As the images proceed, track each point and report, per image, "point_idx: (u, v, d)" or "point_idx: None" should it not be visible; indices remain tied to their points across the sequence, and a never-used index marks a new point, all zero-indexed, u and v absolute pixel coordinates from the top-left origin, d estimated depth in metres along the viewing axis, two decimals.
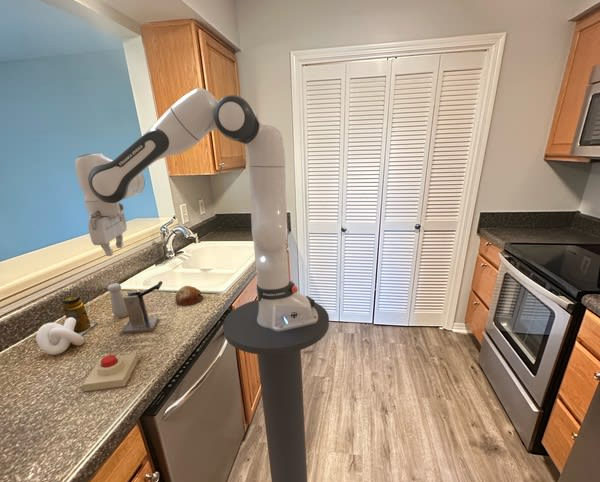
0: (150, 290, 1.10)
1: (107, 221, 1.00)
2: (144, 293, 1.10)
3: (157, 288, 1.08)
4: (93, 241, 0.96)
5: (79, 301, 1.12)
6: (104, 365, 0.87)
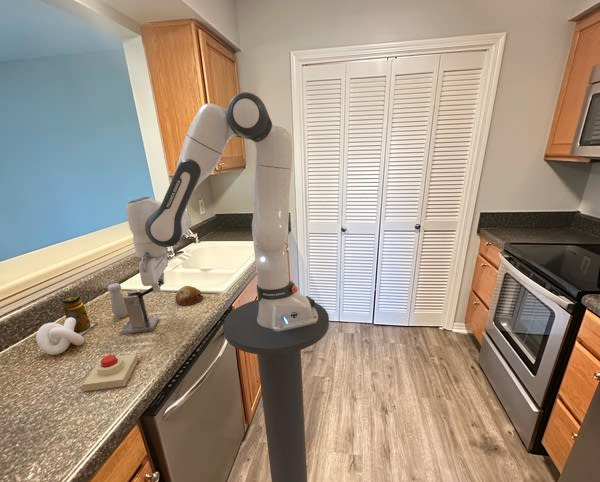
0: (150, 290, 1.10)
1: (155, 261, 1.03)
2: (144, 293, 1.10)
3: None
4: (143, 282, 0.99)
5: (79, 301, 1.12)
6: (104, 365, 0.87)
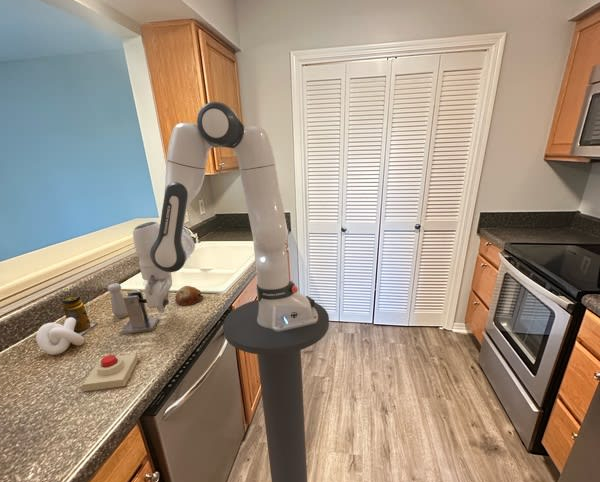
0: None
1: (160, 284, 1.06)
2: None
3: None
4: (149, 305, 1.02)
5: (79, 301, 1.12)
6: (104, 365, 0.87)
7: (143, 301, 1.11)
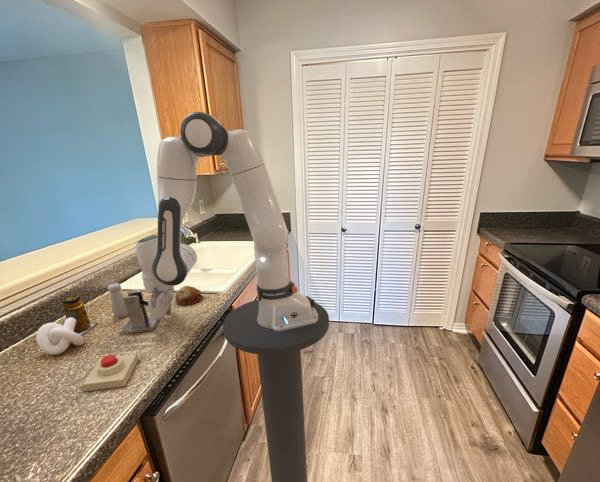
0: None
1: (163, 296, 1.08)
2: (146, 304, 1.12)
3: None
4: (152, 317, 1.04)
5: (79, 301, 1.12)
6: (104, 365, 0.87)
7: (143, 303, 1.11)
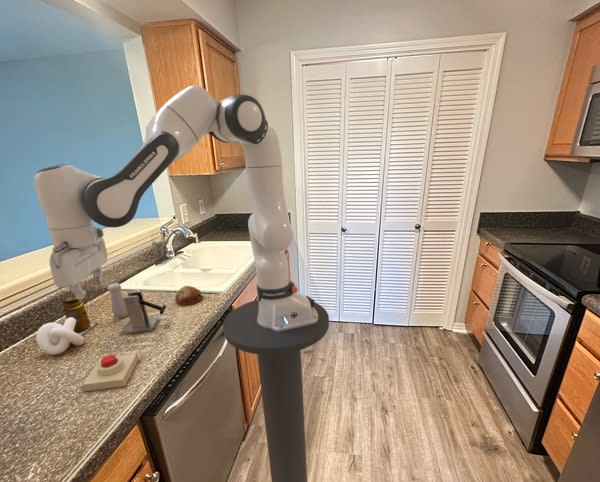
0: (153, 306, 1.12)
1: (78, 254, 0.75)
2: (146, 304, 1.12)
3: (161, 313, 1.12)
4: (56, 283, 0.71)
5: (79, 301, 1.12)
6: (104, 365, 0.87)
7: (143, 303, 1.11)
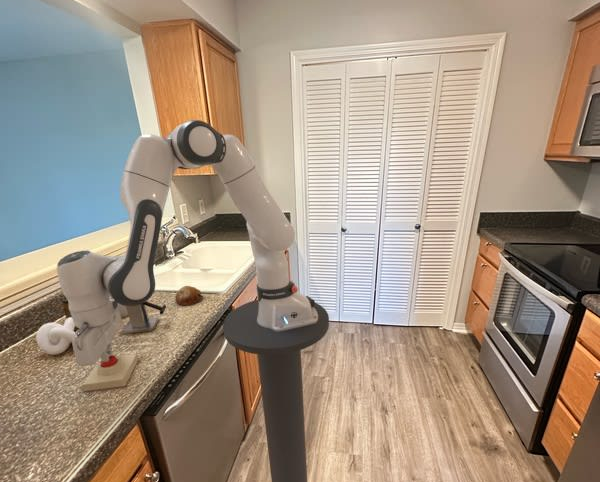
0: (153, 306, 1.12)
1: (97, 332, 0.81)
2: (146, 304, 1.12)
3: (161, 313, 1.12)
4: (79, 363, 0.77)
5: None
6: (104, 365, 0.87)
7: (143, 303, 1.11)
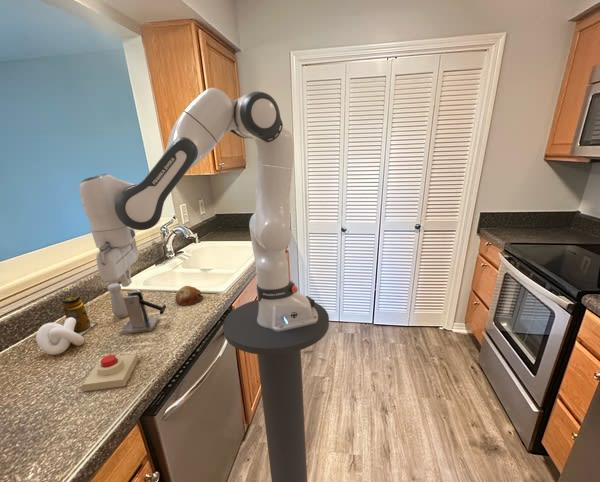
0: (153, 306, 1.12)
1: (118, 253, 0.85)
2: (146, 304, 1.12)
3: (161, 313, 1.12)
4: (103, 278, 0.81)
5: (79, 301, 1.12)
6: (104, 365, 0.87)
7: (143, 303, 1.11)
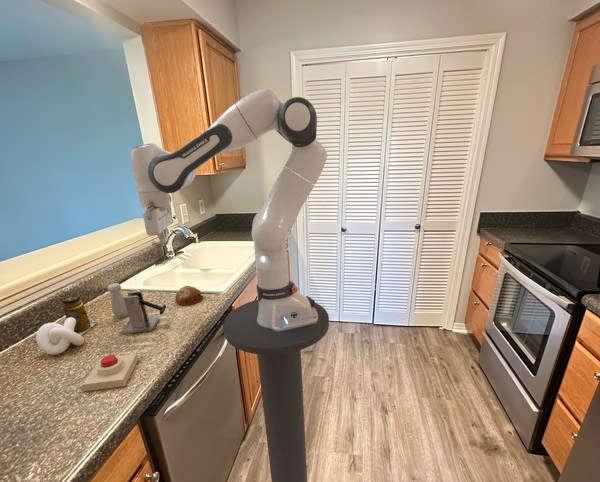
0: (153, 306, 1.12)
1: (159, 212, 1.00)
2: (146, 304, 1.12)
3: (161, 313, 1.12)
4: (148, 231, 0.96)
5: (79, 301, 1.12)
6: (104, 365, 0.87)
7: (143, 303, 1.11)
